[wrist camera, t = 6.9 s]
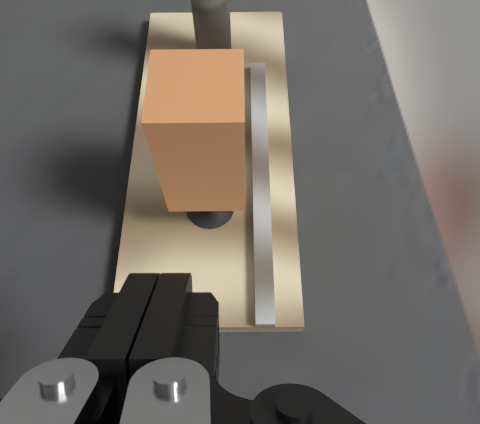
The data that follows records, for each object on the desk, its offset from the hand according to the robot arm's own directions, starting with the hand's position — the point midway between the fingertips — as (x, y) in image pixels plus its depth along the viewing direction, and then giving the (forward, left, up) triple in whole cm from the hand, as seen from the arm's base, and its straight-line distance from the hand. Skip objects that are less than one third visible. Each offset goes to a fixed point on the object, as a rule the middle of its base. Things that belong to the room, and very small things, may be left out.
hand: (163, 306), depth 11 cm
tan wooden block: (-5, +9, -12) cm, 15 cm away
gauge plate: (-7, +13, -13) cm, 20 cm away
